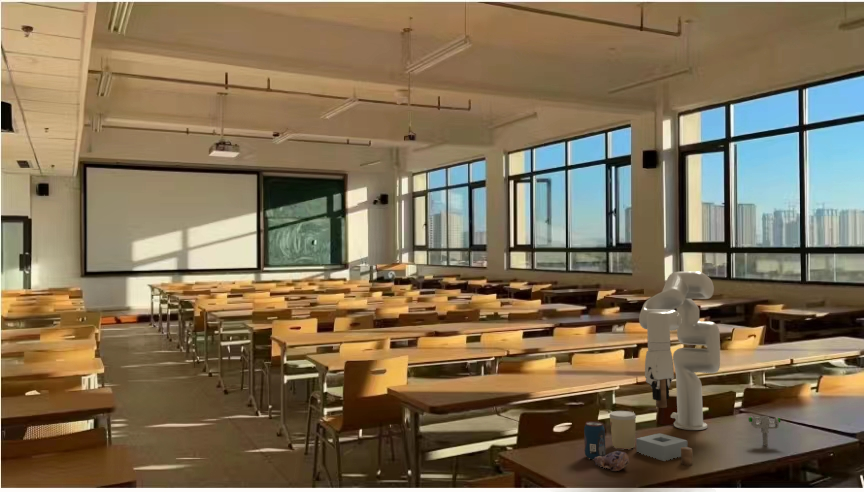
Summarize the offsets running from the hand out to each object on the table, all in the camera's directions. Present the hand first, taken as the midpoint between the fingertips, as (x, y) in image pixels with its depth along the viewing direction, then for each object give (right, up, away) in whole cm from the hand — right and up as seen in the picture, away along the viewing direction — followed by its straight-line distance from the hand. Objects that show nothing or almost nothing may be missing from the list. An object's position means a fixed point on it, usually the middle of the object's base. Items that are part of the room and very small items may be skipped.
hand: (660, 398), depth 229 cm
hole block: (0, -19, 0) cm, 19 cm away
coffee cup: (-10, -20, +10) cm, 25 cm away
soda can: (-24, -20, -3) cm, 31 cm away
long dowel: (0, -3, 0) cm, 3 cm away
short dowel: (+5, -19, -12) cm, 23 cm away
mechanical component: (+40, -19, +7) cm, 45 cm away
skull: (-21, -20, -14) cm, 32 cm away
